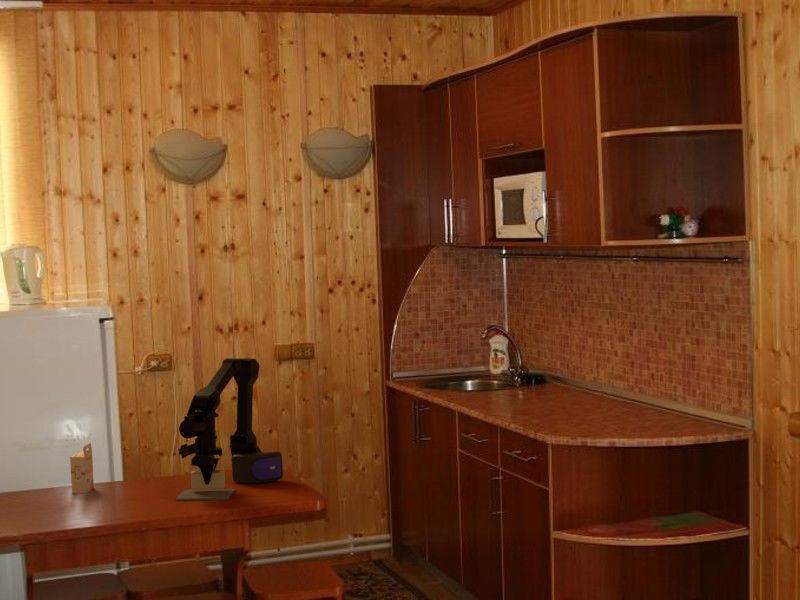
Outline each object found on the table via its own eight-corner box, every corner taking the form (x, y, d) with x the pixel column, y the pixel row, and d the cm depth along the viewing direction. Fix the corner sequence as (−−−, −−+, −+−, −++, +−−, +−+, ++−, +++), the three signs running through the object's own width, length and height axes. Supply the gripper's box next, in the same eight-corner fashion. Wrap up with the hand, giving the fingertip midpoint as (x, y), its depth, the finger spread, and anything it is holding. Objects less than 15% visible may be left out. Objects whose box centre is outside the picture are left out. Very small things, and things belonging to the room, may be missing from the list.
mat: (184, 491, 372) (184, 489, 372) (235, 490, 372) (235, 488, 372) (175, 500, 359) (175, 498, 359) (227, 499, 359) (227, 497, 359)
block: (193, 486, 371) (192, 470, 370) (225, 485, 370) (224, 470, 370) (191, 488, 368) (190, 472, 367) (223, 488, 367) (222, 472, 367)
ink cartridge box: (78, 488, 383) (76, 442, 382) (94, 487, 383) (92, 442, 382) (71, 493, 375) (69, 447, 374) (86, 493, 374) (84, 447, 374)
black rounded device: (232, 486, 380) (230, 457, 379) (233, 482, 385) (231, 454, 384) (283, 482, 382) (281, 453, 381) (283, 478, 386) (281, 450, 385)
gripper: (187, 429, 378) (188, 477, 379) (173, 439, 359) (175, 490, 360) (221, 428, 377) (223, 477, 378) (210, 438, 359) (212, 489, 360)
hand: (208, 483), depth 369 cm, fingers closed on block, 3 cm apart
